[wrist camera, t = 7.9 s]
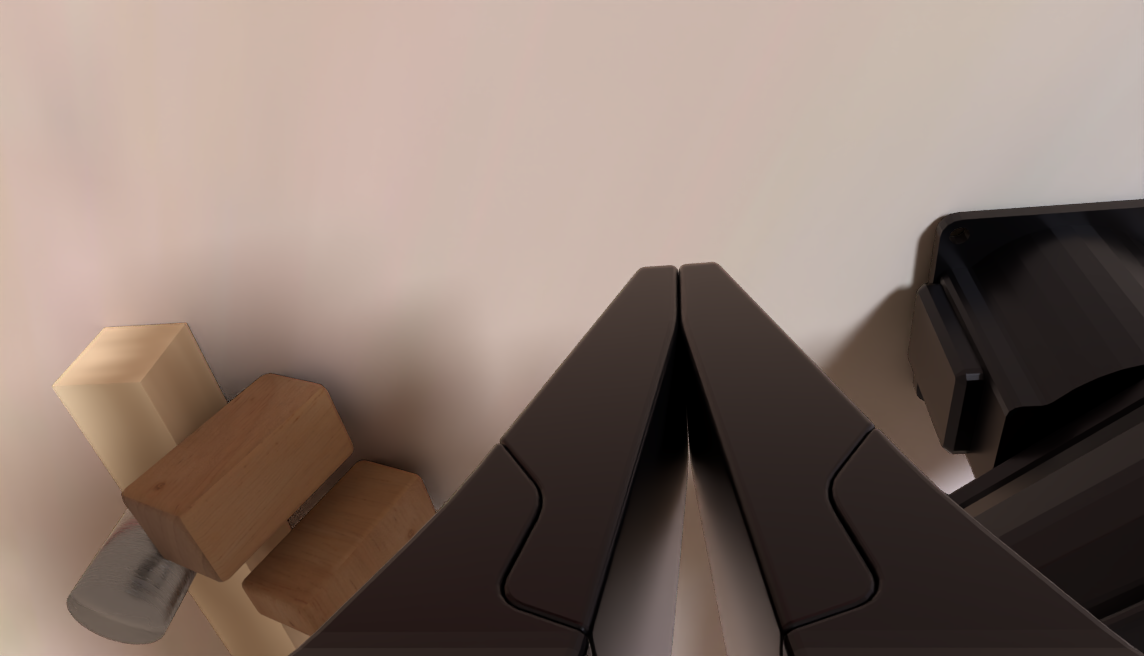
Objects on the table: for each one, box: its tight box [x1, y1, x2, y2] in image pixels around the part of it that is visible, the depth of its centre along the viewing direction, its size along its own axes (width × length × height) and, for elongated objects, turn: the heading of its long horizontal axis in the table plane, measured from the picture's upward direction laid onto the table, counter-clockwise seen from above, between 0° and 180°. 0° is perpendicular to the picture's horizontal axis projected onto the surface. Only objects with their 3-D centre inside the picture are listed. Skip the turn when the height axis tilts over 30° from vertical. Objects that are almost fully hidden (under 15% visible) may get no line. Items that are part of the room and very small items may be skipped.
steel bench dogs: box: [67, 508, 197, 644], centre depth 32 cm, size 3×15×7 cm, turn 7°
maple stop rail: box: [52, 323, 310, 656], centre depth 33 cm, size 3×24×3 cm, turn 7°
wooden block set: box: [121, 373, 436, 636], centre depth 30 cm, size 18×9×10 cm, turn 12°
